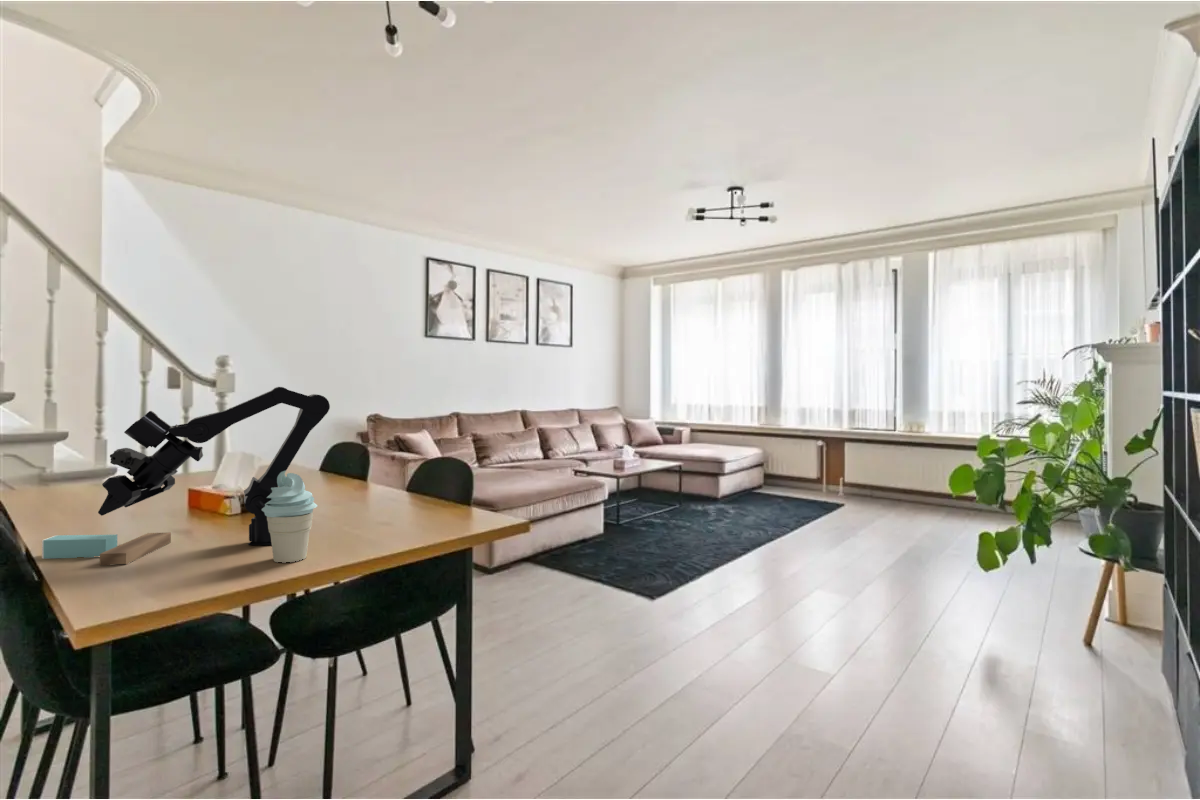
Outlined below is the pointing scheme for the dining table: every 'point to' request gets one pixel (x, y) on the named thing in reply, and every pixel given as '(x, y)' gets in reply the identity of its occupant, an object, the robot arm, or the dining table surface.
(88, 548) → the teal block
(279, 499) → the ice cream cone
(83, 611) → the dining table surface
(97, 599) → the dining table surface
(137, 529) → the dining table surface
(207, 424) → the robot arm
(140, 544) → the walnut strip
